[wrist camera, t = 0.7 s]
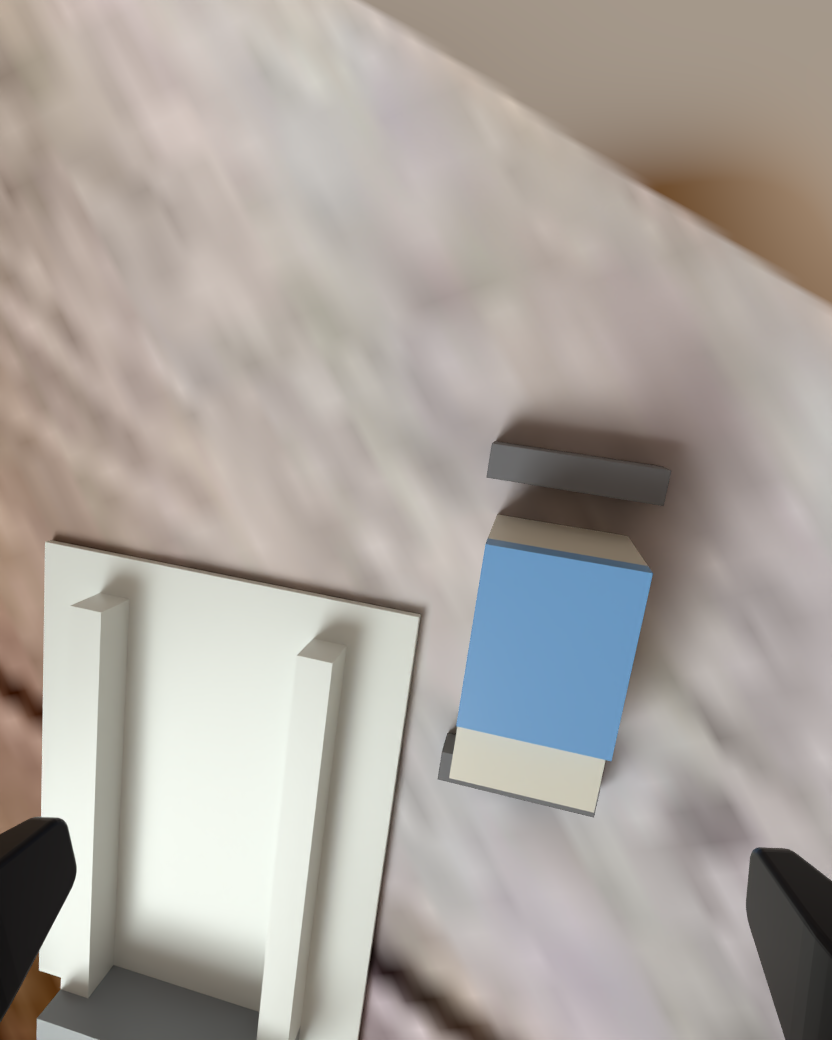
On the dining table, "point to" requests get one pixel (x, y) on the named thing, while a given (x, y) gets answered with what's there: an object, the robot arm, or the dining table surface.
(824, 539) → the dining table surface
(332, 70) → the dining table surface
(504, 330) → the dining table surface
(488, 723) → the plug
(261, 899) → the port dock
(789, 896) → the robot arm
